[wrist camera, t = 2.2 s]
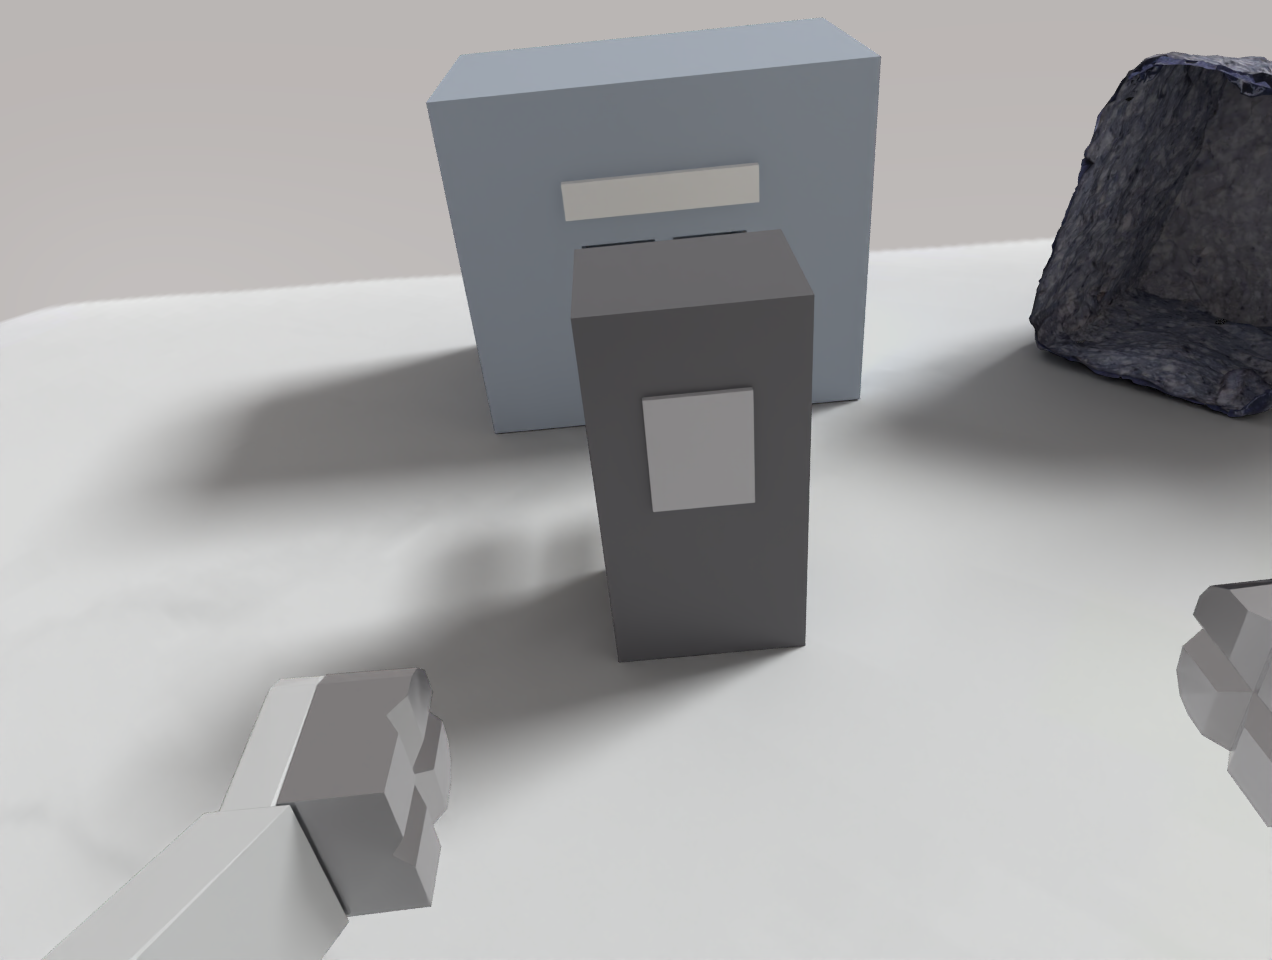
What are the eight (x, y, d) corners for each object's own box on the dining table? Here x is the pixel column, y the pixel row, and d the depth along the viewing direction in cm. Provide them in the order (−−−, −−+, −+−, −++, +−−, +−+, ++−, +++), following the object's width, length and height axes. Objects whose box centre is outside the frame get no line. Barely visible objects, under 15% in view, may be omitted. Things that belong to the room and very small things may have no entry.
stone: (1198, 488, 31) (963, 330, 35) (1278, 420, 37) (1069, 292, 41) (1501, 153, 23) (1152, 7, 28) (1538, 138, 29) (1248, 20, 34)
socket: (494, 437, 34) (424, 104, 27) (512, 337, 41) (460, 55, 35) (861, 402, 34) (883, 57, 27) (814, 308, 41) (822, 17, 34)
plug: (619, 666, 24) (570, 321, 18) (613, 490, 31) (577, 198, 25) (806, 649, 24) (815, 297, 18) (759, 477, 30) (756, 180, 25)
